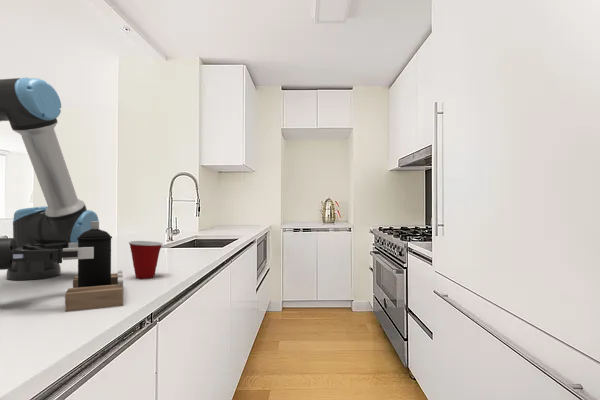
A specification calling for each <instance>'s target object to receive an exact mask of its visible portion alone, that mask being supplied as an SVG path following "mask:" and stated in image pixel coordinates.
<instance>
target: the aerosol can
mask: <svg viewBox="0 0 600 400" xmlns="http://www.w3.org/2000/svg"><path fill="white" fill-rule="evenodd" d="M112 239H113V236H112V235H111V234H110V233H109V232H108V231H106V230H102V229H100V220H99V221H91V229H90V230H88V231H85V232H83V233H82V234H81V235H80V236H79V237H78V238H77V240H78V248H83V247H94V258H91V259H77V276H78V288H79V287H91V286H103V285H111V274H112Z"/></svg>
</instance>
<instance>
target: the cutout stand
mask: <svg viewBox="0 0 600 400" xmlns="http://www.w3.org/2000/svg"><path fill="white" fill-rule="evenodd" d="M64 294H65V296H64V298H65V300H64V303H65V306H64V307H65V309H64V312H71V311H72V312H74V311H75V312H76V311H84V310H92V309H94V310H95V309H102V308H112V307H123V306H124V275H123V270H117V272H113V273H112V272H111V285H103V286H91V287H79V288H78V275H75V276H74V278H73V280H72V287H69V288H67V290H66V292H65V293H64Z"/></svg>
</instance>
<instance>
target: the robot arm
mask: <svg viewBox="0 0 600 400" xmlns="http://www.w3.org/2000/svg"><path fill="white" fill-rule="evenodd" d="M61 108H62V102H61V99H60V96H59V94H58V92H57V90H56V89H55V88H54V87H53V85H51V84H50V83H48V82H47V81H46V80H45V79H44V80H43V79H41V78H37V77H36V78H35V77H34V78H33V77H16V78H15V77H14V78H3V79H1V78H0V122H9V125H10V127H11V130H12V131H13V132H15V133H17V134H18V135H20V137H21V139H22V141H23V144H24V147H25V149H26V152H27V155H28V157H29V160H30V162H31V165H32V168H33V171H34V174H35V176H36V178H37V181H38V183H39V186H40V189H41V191H42V195H43V197H44V198H45V199H44V200H45V202H46V205H47V206H37V207H33V206H32V207H26V208H19V209H17V210H16V211H15V212H14V214H13V221H12V237H5V238H4V237H1V238H0V271H1V270H3V271H4V270H6V279H7V280H12V281H29V280H39V279H48V278H52V277H56V276H60V275H61V271H62V270H61V268H62V267H61V265H60V264H62V263H63V261H69V260H71V261H72V260H78V259H91V258H94V247H83V248H78V240H77V238H78V237H79V236H80V235H81V234H82V233H83V232H85V231H88V230H90V229H91V221H99V222H100V220H99V217H98V214H97V212H94V211H93V210H90V209H87V206H86V203H85V202H84V201H83V199H82V200H81V199H79V198H78V197H77V194H76V193H77V192H76V189H75V187H74V185H73V182H72V178H71V176H70V175H71V174H70V172H69V169H68V167H67V163H66V160H65V157H64V154H63V151H62V149H61V145H60V143H59V140H58V137H57V136H58V135H57V134H56V131H55V128H56V126H57V124H58V119H57V118H58V117H59V116H60V114H61V112H62V110H61Z"/></svg>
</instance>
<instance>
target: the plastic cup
mask: <svg viewBox="0 0 600 400" xmlns="http://www.w3.org/2000/svg"><path fill="white" fill-rule="evenodd" d="M128 244H129V246H130V253H131V258H132V264H133V269H134V274H135V278H136V279H139V280H144V279H145V280H147V279H152V278H155V276H156V271H157V266H158V261H159V256H160V251H161V249H162V246H163V245H164V243H163V242H160V241H152V240H130V241H128Z"/></svg>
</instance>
